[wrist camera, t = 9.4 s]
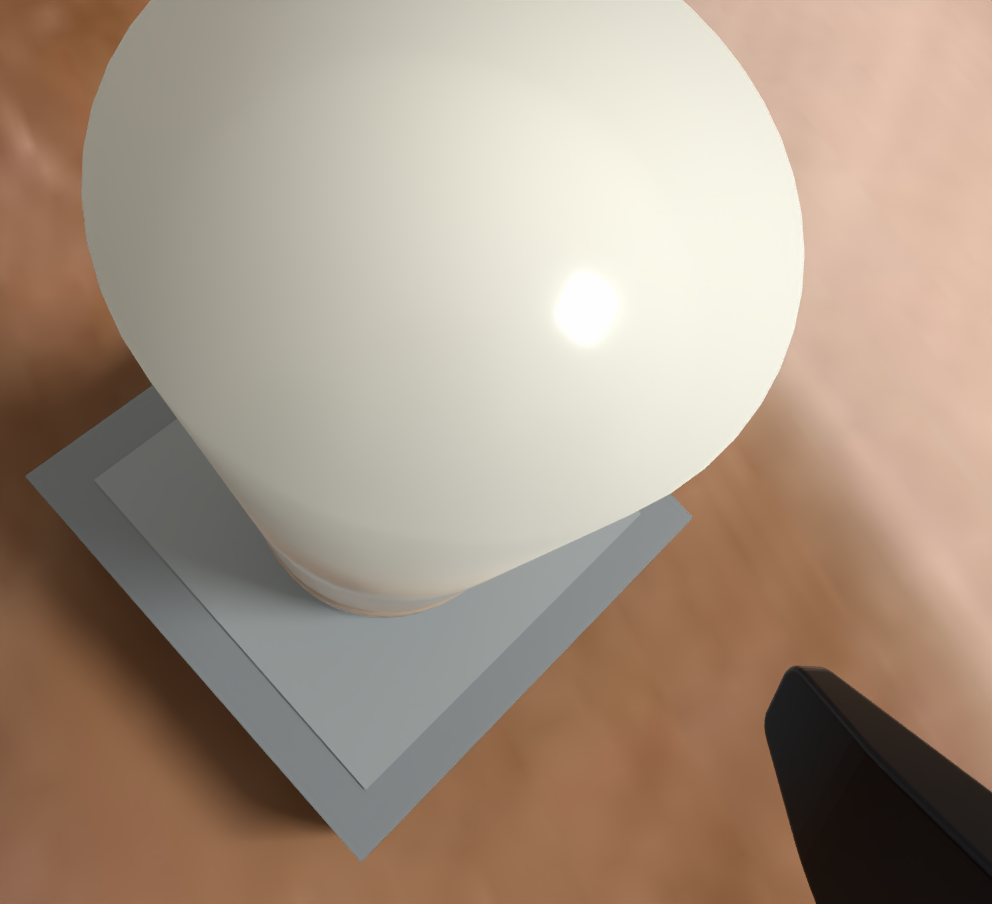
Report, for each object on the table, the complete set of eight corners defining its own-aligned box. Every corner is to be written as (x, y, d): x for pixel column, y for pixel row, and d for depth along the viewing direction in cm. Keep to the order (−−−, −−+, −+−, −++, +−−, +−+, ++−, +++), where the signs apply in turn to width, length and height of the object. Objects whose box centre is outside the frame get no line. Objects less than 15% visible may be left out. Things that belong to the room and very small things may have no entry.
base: (358, 834, 18) (360, 863, 16) (64, 497, 19) (24, 475, 16) (654, 531, 22) (693, 517, 19) (397, 253, 22) (403, 205, 20)
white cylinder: (425, 663, 17) (637, 707, 5) (219, 546, 17) (-119, 273, 5) (532, 467, 19) (897, 120, 6) (345, 357, 19) (349, -221, 6)
